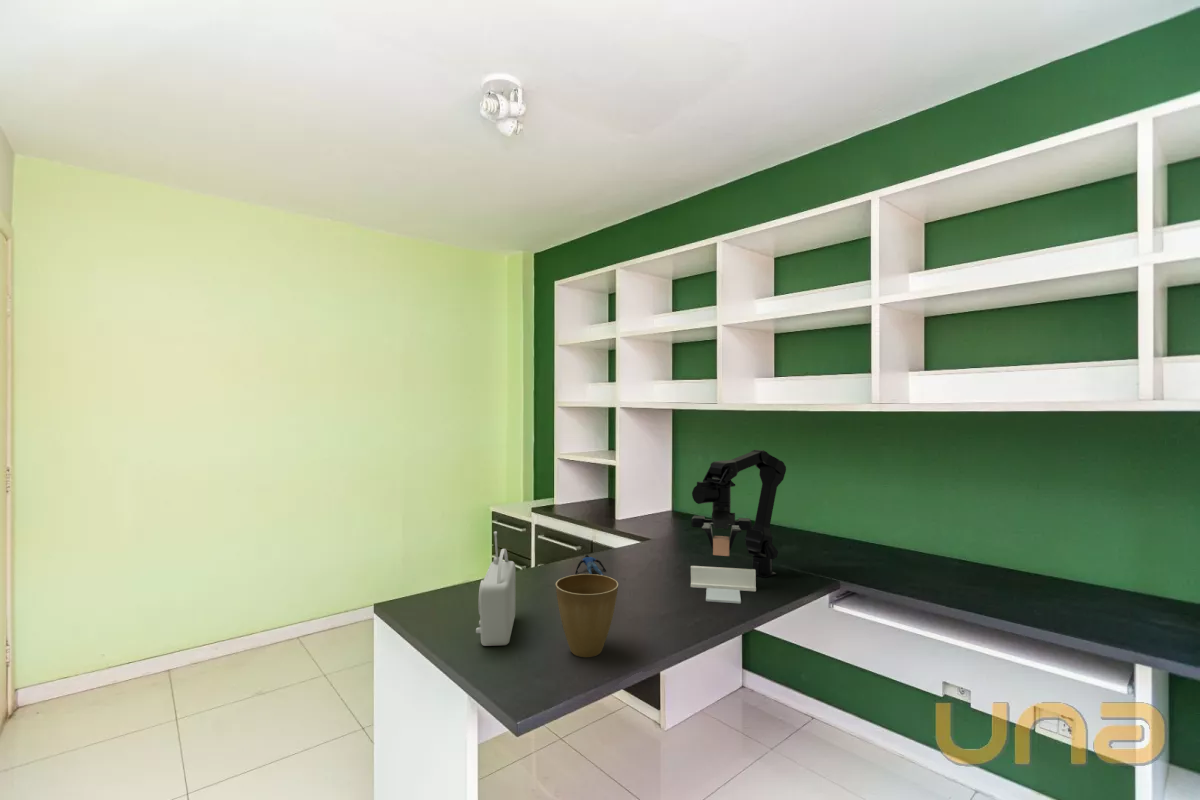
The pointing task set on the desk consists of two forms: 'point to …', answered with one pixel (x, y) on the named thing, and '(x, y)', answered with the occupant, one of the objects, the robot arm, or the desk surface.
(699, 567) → the off-white ledge rack
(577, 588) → the plant pot
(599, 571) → the person figurine
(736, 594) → the pad
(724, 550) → the plain cardboard-brown cube
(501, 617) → the radio
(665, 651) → the desk surface
